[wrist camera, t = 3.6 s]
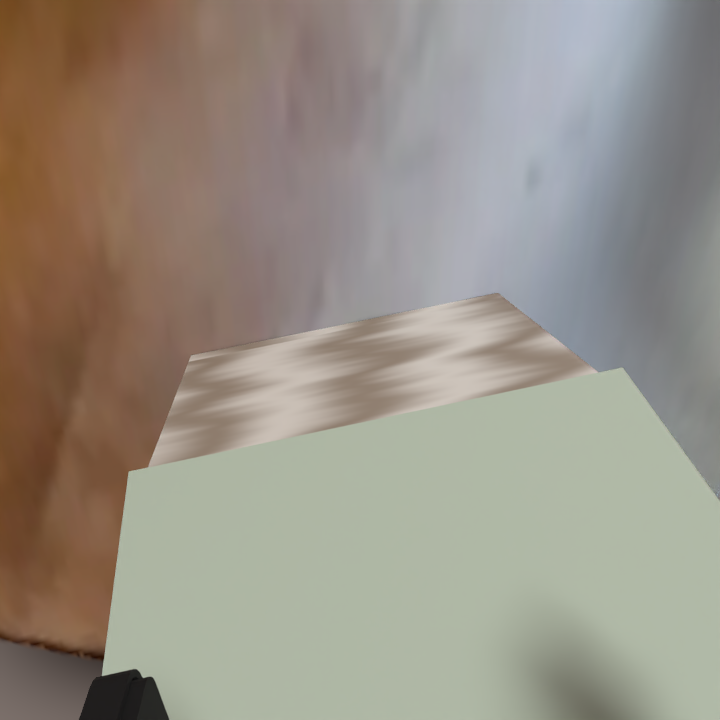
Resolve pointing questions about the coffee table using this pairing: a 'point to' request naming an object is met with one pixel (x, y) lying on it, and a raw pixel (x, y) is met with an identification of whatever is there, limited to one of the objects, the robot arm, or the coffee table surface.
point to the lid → (431, 568)
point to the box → (359, 375)
